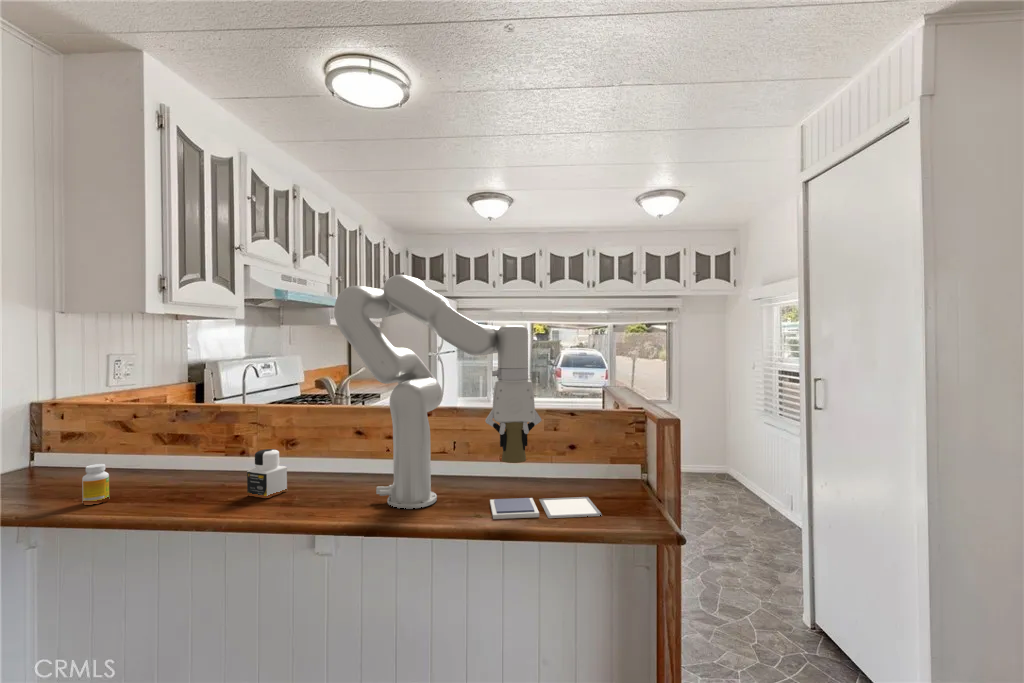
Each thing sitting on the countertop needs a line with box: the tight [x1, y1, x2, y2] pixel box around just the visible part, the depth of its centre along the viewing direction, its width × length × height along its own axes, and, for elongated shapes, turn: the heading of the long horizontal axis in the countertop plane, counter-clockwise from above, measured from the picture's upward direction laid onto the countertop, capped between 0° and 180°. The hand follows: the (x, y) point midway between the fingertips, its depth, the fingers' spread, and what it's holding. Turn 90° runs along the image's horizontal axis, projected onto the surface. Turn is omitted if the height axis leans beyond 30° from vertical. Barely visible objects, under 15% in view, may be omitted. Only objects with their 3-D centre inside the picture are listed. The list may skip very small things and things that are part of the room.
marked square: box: [538, 496, 603, 519], centre depth 127 cm, size 13×13×1 cm
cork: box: [501, 422, 527, 464], centre depth 125 cm, size 6×6×11 cm
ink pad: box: [489, 497, 540, 520], centre depth 125 cm, size 11×11×1 cm
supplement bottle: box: [81, 463, 110, 502], centre depth 132 cm, size 5×5×10 cm
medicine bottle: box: [246, 448, 288, 496], centre depth 139 cm, size 7×7×12 cm
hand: (513, 448), depth 125 cm, fingers closed on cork, 4 cm apart
